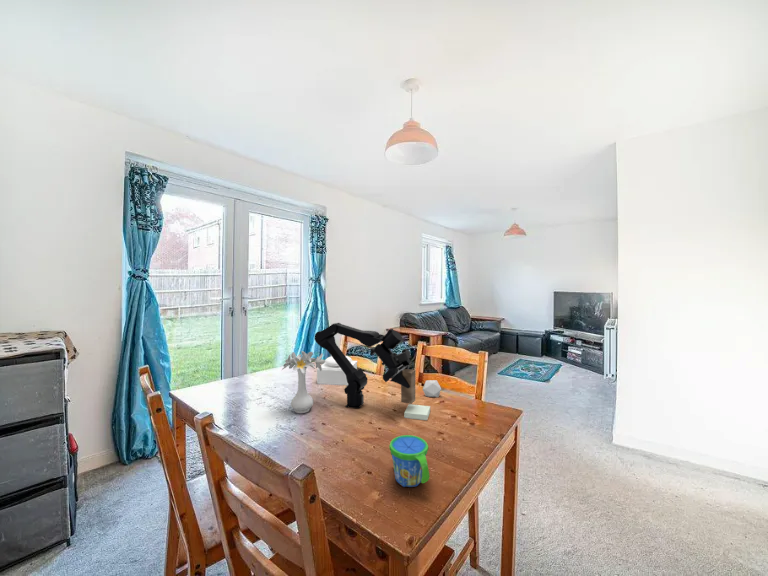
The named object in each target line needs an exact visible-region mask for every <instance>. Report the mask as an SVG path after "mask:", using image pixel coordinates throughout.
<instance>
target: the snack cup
mask: <svg viewBox="0 0 768 576" xmlns="http://www.w3.org/2000/svg"><path fill="white" fill-rule="evenodd" d="M388 446H389V451H390V455H391V458H392V465H393V471H394V472H393V473H394V477H395V481H396V482H397V483H398V484H399V485H401V486H402V487H403V488H405V487H408V488H413V487H417V486H419V485H420V484H425V483H428V481H429V480H430V470H429V464H428V460H427V454H428V450H429V445H428V443H427V440H425V439H424V438H422V437H420V436H416V435H412V434H406V435H405V434H403V435H399V436H397V437H394V438H392V439H391V441H390V443H389V445H388Z"/></svg>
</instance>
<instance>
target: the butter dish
mask: <svg viewBox="0 0 768 576" xmlns="http://www.w3.org/2000/svg"><path fill="white" fill-rule="evenodd" d="M345 356H346V358H347V359H348V360H349V361H350V363H351V364H352V365H353V367H354V368H356V369H357V370H358V360H353V359H352V358H351V357H350V356H348V355H345ZM324 360H325V363H324V364H320V365H321V367H322V370H321V371H320V370H319V368H316V385H327V386H328V385H329V386H343V385H346V386H345V387H347V386H348V385H349V384H348V383H347V379H346V375H345V373H344V372H343V371H342V369H341V368H340V367H339V365H338V364H337V363H336V361H335V360H334V359H333V357H332V356H331V355H330V356H329V357H327V358H326V359H324Z"/></svg>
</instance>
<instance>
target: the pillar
mask: <svg viewBox="0 0 768 576" xmlns="http://www.w3.org/2000/svg"><path fill="white" fill-rule="evenodd" d="M402 373H403V376H404V378H405V379H406V381H407V382H408V384H409V385H410V387H409V388H406V387H404V386H402V385H400V400H401V401H400V403H405V404H408V405H409V404H413V403H415V401H416V369H410V368H409V369H404V370H403V371H402Z"/></svg>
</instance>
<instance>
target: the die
mask: <svg viewBox="0 0 768 576" xmlns="http://www.w3.org/2000/svg"><path fill="white" fill-rule="evenodd" d="M422 391H423V394H424V396H425V397H429V398H439V396H440V394H441V392H442V387H441V385H440V384H439V382H438V380H437V379H436V380H434V379H433V380H431V379H429V380H425V382H424V385H423V388H422ZM440 391H441V392H440Z"/></svg>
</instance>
